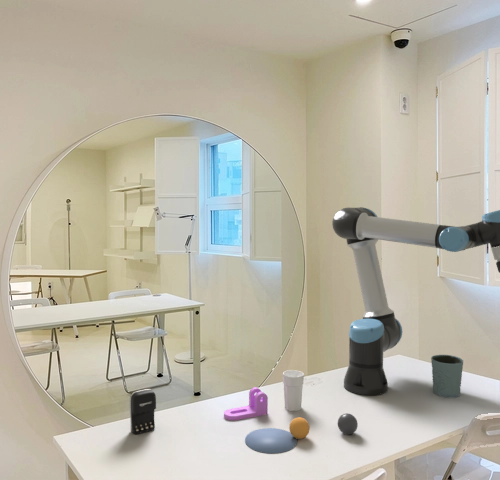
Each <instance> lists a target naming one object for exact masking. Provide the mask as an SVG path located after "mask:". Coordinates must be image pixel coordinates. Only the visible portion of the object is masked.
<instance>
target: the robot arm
mask: <svg viewBox="0 0 500 480" xmlns="http://www.w3.org/2000/svg"><path fill="white" fill-rule="evenodd" d="M331 223H332V224H331V225H332V229H333V232H334V233H335V234H336V235H337V236H338V237H339V238H341V239H344V240H346V245H347V246H348V247H349V248H350V249H352V253H353V258H354V263H355V267H356V272H357V277H358V282H359V287H360V291H361V296H362V301H363V306H364V310H365V311H364V313H363V315H362V317H361V318H362V319H361V318H359V319H355V320H354V321H352V322H351V324H350V325H349V332H348V336H349V337H348V338H349V339H348V341H349V348H348V349H349V352H348V353H349V354H348V367H347V370H346V373H345V375H344V378H343V388H344V389H345V390H347V391H348V392H350V393H354V394H357V395H362V396H363V395H364V396H378V395H383V394H386V393H387V392H388V389H389V385H388V384H389V383H388V380H387V379H388V378H387V376H386V373H385V370H384V352H386V351H388V350H390V349H393V348H394V347H395V346H396V345H398V344H399V342H401V339H402V337H403V326H402V324H401V322H400V321H399V320H398V319H397V318H396V317H395V311H394V310H393V309H391V308H390V307H389V304H388V303H389V302H388V299H387V293H386V290H385V285H384V284H385V283H384V279H383V275H382V271H381V266H380V262H379V261H380V260H379V256H378V252H377V248H376V244H377V242H378V241H379V240H381V241H387V242H394V243H400V244H401V243H402V244H407V245H414V246H421V247H428V248H435V249H440V250H445V251H447V252H450V253H451V252H452V253H457V252H462V251H466V250H468V249H471V248H472V249H473V248H476V247H479V246H486V245H490V248H491V249H490V250H491V252H492V255H493V258H494V260H495V261H496V262H495V264H496V267H497V271H498V273H500V209H497V210H494V211H491V212H488V213H487V212H486V213H484V214H483V215H482V216H481V221H479V222H476V223H472V224H467V225H462V226H454V225H452V226H451V225H446V224H444V225H443V224H436V223H435V224H434V223H429V222H419V221H412V220H402V219H395V218H389V217H387V218H386V217H378V215H377V214H376V212H374V211H373V210H371V209H369V208H366V207H363V206H361V207H344V208H341V209H339V210H338V211H337V212H336V213H335V214H334V215H333V218H332V222H331Z"/></svg>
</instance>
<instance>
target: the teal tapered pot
mask: <svg viewBox="0 0 500 480" xmlns="http://www.w3.org/2000/svg"><path fill="white" fill-rule="evenodd" d="M430 359H431V367H432V368H431V369H432V370H431V374H432V391H433V393H434V394H435V395H436V396H439V397H442V398H449V399H453V398H458V397H460V395H461V387H462V376H463V368H464V359H463V358H461V357H458V356H456V355H450V354H434V355H432V356H431V358H430Z"/></svg>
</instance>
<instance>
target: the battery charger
mask: <svg viewBox="0 0 500 480" xmlns="http://www.w3.org/2000/svg"><path fill="white" fill-rule="evenodd" d="M156 409H157V396H156V393H155V392H154V391H153V389H151V388H144V389H139V390H136V391H133V392H131V394H130V396H129V416H130V432H131V433H132V434H134V435H139V434H140V435H141V434H143V433H147V432H150V431H154V430H155V427H156V425H155V423H156V422H155V410H156Z"/></svg>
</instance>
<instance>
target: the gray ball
mask: <svg viewBox="0 0 500 480" xmlns="http://www.w3.org/2000/svg"><path fill="white" fill-rule="evenodd" d="M358 427H359V426H358V420H357V418H356V417H355V416H354V415H353V414H351V413H343V414H341V415H340V416H339V418H338V419H337V428H338V429H339V431H340V432H341V433H343V434H344V435H353V434H355V432H356V431H357V429H358Z"/></svg>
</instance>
